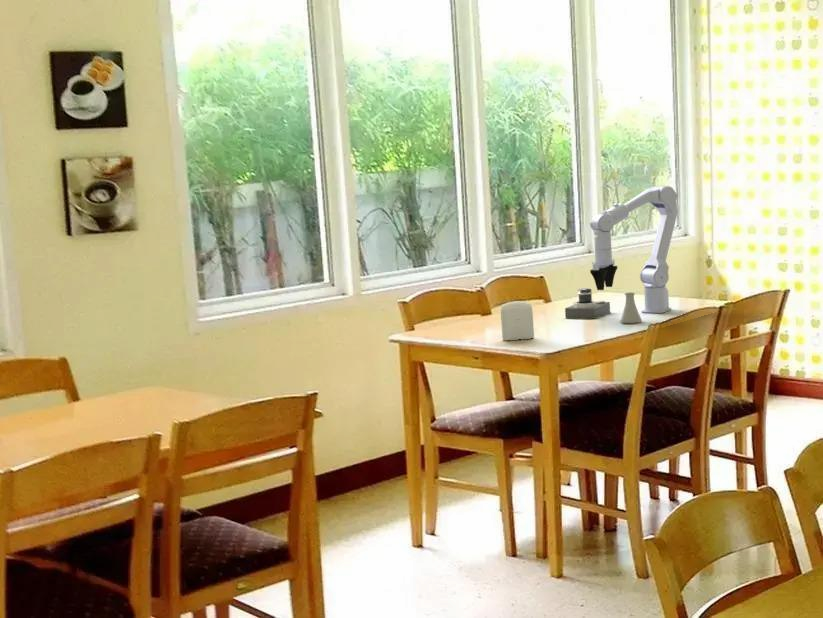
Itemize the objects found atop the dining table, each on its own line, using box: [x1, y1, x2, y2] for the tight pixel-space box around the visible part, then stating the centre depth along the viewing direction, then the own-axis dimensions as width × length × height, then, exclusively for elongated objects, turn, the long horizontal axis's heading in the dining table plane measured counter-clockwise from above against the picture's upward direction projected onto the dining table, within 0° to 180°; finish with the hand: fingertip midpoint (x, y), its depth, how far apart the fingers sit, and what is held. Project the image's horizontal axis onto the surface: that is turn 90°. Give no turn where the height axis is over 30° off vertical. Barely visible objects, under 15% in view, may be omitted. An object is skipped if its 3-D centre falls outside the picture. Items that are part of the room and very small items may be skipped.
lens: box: [577, 287, 593, 304], centre depth 429 cm, size 5×5×6 cm
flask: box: [619, 292, 642, 325], centre depth 410 cm, size 7×7×10 cm
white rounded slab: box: [500, 300, 535, 341], centre depth 392 cm, size 10×4×12 cm, turn 91°
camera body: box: [564, 300, 611, 320], centre depth 432 cm, size 14×11×5 cm
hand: (604, 288), depth 422 cm, fingers open, 7 cm apart
